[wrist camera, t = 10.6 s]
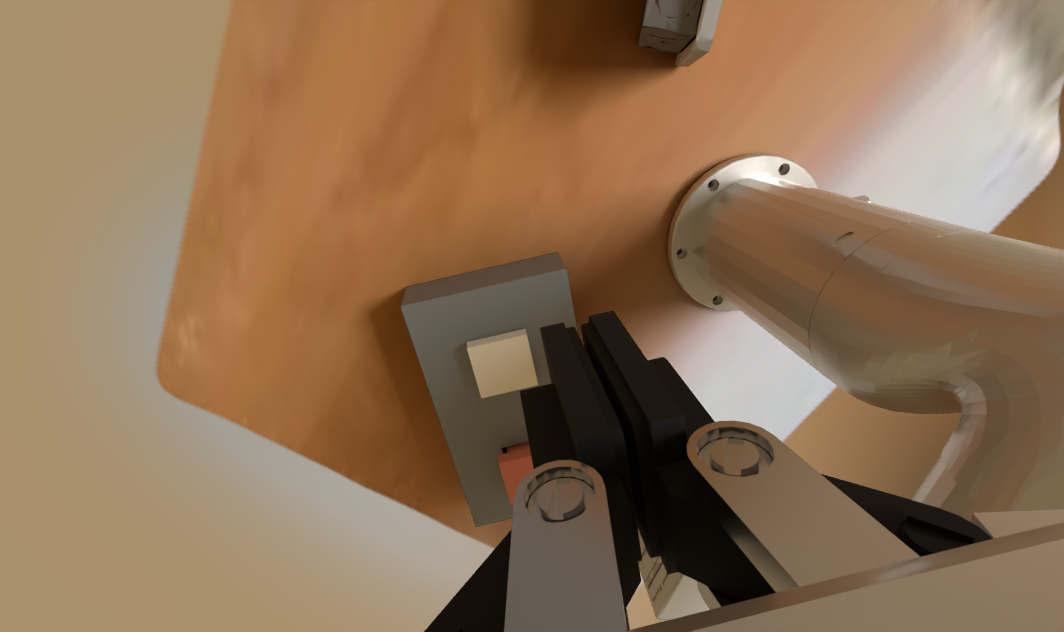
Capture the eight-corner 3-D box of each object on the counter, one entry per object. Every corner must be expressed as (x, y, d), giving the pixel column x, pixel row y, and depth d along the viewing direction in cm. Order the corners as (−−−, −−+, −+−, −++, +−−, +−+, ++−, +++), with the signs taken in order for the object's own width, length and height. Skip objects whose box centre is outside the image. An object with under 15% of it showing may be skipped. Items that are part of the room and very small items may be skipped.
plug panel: (557, 252, 38) (566, 268, 35) (595, 464, 48) (606, 495, 44) (406, 286, 38) (400, 306, 34) (475, 494, 47) (475, 527, 44)
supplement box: (705, 457, 49) (778, 567, 38) (675, 512, 52) (735, 631, 40) (639, 445, 47) (695, 556, 36) (612, 502, 50) (655, 623, 38)
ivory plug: (521, 312, 39) (526, 334, 35) (531, 359, 41) (538, 385, 37) (466, 324, 39) (466, 348, 35) (480, 371, 40) (481, 398, 37)
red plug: (545, 420, 42) (553, 450, 38) (554, 459, 44) (562, 491, 40) (495, 432, 42) (498, 463, 38) (506, 470, 44) (510, 504, 40)
